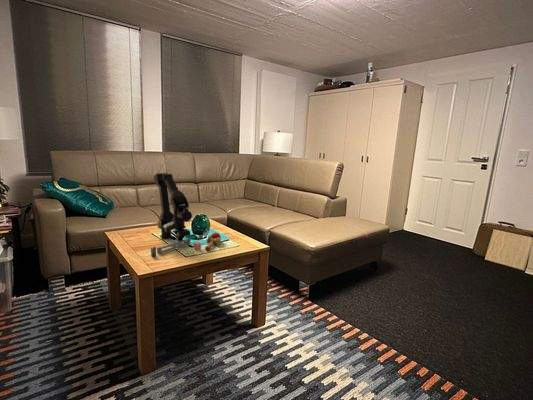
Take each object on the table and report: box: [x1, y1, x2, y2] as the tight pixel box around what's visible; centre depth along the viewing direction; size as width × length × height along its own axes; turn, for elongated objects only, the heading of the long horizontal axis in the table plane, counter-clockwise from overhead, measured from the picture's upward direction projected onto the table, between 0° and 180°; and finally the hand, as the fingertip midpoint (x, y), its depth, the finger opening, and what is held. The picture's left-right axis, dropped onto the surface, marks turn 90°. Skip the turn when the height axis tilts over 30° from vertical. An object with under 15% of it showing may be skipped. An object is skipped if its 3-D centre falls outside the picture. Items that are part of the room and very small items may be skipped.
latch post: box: [193, 241, 202, 252], centre depth 159 cm, size 3×3×4 cm
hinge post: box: [150, 246, 157, 258], centre depth 148 cm, size 2×2×4 cm
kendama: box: [204, 232, 221, 252], centre depth 165 cm, size 8×6×18 cm
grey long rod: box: [156, 238, 191, 255], centre depth 158 cm, size 2×20×3 cm, turn 142°
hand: (179, 243), depth 164 cm, fingers closed
